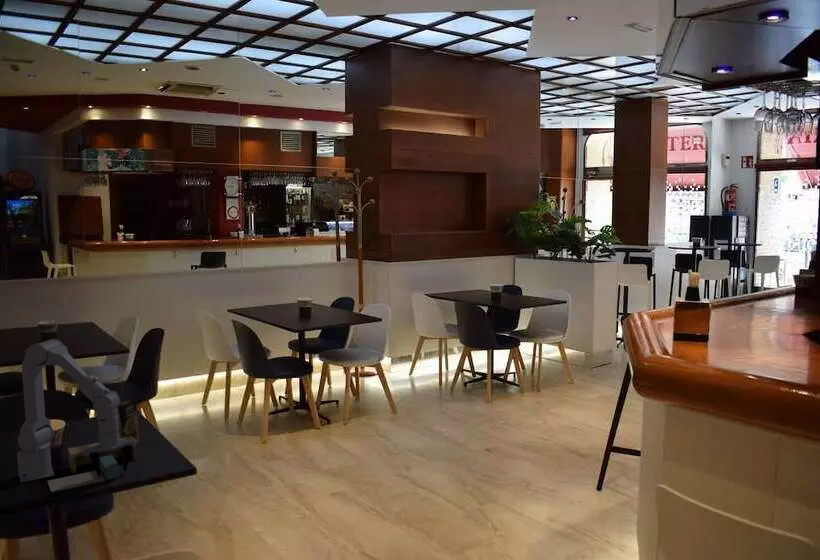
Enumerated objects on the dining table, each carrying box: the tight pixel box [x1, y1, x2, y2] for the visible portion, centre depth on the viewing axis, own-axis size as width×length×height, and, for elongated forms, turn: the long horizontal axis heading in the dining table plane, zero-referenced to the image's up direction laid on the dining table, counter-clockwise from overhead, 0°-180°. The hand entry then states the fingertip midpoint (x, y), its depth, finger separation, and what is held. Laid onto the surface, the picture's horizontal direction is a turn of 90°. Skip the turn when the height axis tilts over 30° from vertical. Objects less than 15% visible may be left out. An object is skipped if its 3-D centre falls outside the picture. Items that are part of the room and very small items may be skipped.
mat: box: [47, 470, 106, 493], centre depth 214 cm, size 15×10×1 cm, turn 123°
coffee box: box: [115, 399, 140, 445], centre depth 245 cm, size 9×6×16 cm
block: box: [99, 455, 121, 481], centre depth 221 cm, size 4×12×4 cm, turn 33°
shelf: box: [67, 436, 138, 474], centre depth 229 cm, size 20×7×6 cm, turn 123°
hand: (111, 472), depth 217 cm, fingers open, 7 cm apart
